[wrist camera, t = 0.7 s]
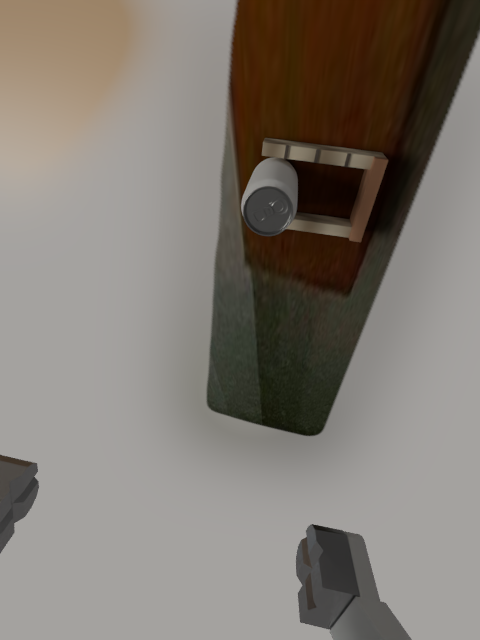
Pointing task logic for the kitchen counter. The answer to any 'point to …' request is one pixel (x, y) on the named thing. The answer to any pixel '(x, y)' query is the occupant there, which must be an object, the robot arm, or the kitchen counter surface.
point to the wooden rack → (341, 157)
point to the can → (271, 197)
